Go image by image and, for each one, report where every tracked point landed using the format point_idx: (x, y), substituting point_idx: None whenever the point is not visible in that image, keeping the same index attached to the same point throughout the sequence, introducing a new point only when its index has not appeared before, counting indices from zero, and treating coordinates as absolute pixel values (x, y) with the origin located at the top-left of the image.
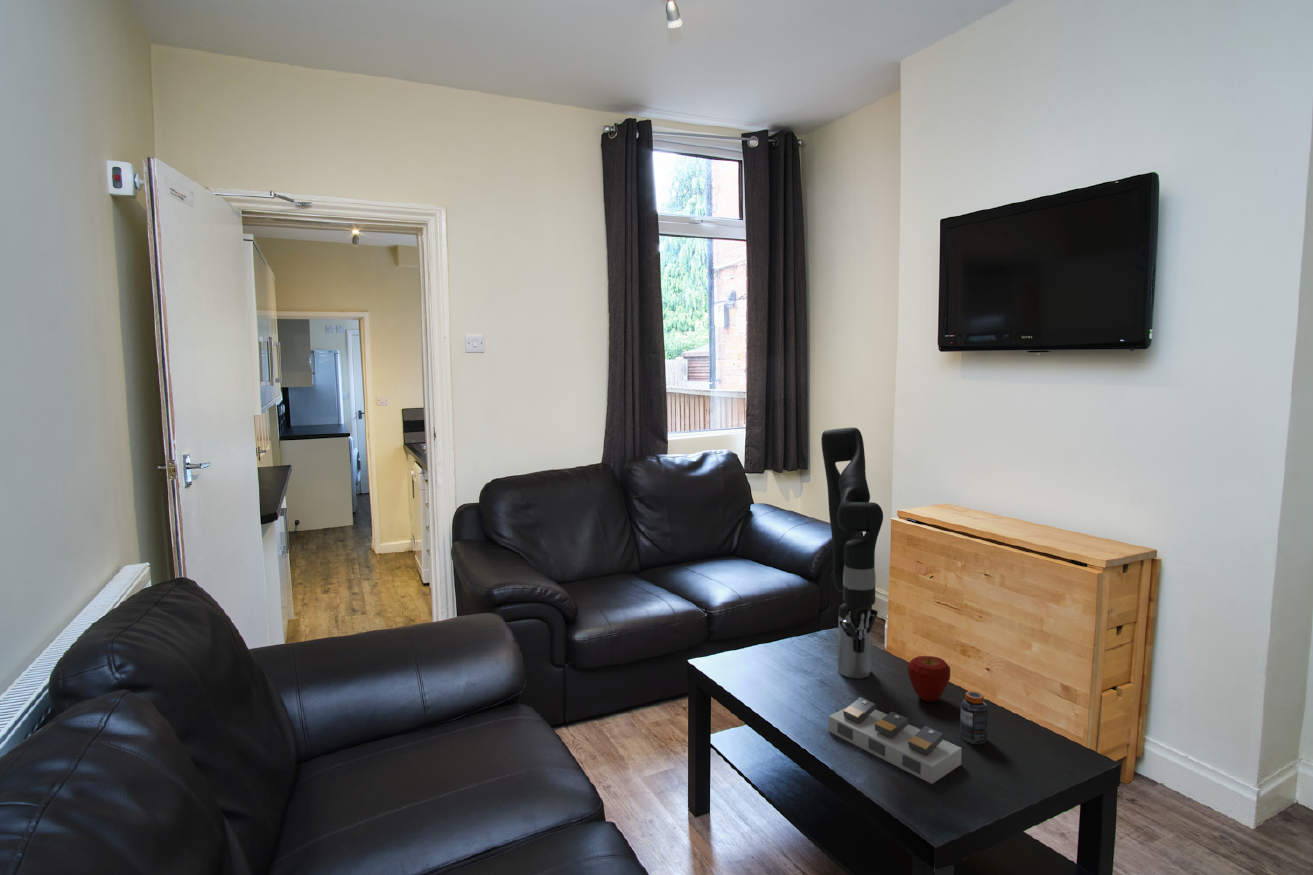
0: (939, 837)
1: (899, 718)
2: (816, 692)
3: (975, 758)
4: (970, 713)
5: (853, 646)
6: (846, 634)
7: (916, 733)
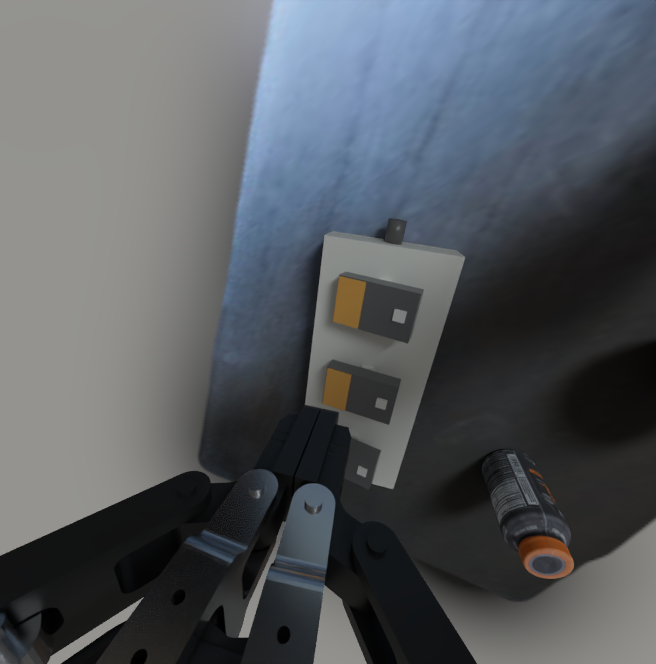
0: (211, 468)
1: (379, 408)
2: (550, 38)
3: (430, 476)
4: (499, 521)
5: (274, 434)
6: (160, 485)
7: (390, 421)
